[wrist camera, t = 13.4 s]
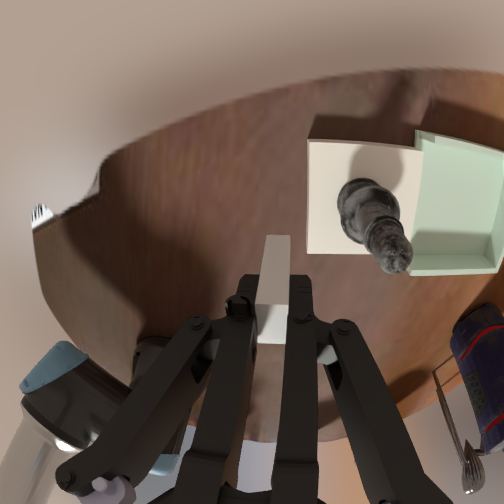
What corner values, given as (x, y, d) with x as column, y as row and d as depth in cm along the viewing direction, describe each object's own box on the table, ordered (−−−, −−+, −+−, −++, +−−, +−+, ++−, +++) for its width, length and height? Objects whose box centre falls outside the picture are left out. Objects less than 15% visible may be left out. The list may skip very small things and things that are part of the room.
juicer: (432, 370, 43) (461, 499, 18) (471, 361, 41) (505, 476, 16) (417, 394, 48) (436, 508, 22) (454, 385, 46) (478, 490, 21)
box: (397, 257, 31) (407, 276, 28) (415, 129, 23) (432, 134, 20) (484, 257, 29) (497, 273, 26) (508, 152, 21) (526, 161, 18)
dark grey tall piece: (339, 233, 28) (365, 312, 18) (328, 181, 25) (357, 241, 15) (390, 222, 27) (438, 293, 16) (384, 169, 24) (443, 221, 14)
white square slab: (305, 242, 32) (307, 253, 30) (307, 138, 26) (309, 142, 24) (400, 243, 30) (406, 254, 28) (413, 147, 24) (423, 151, 22)
